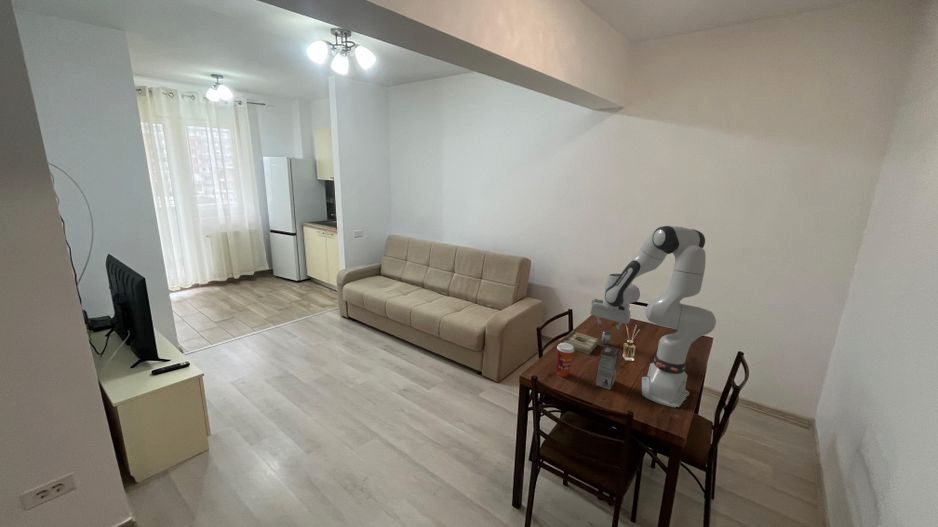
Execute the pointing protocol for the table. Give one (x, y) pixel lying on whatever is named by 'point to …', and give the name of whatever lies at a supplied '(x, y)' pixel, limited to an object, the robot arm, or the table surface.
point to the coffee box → (607, 367)
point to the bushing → (605, 338)
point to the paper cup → (564, 359)
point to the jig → (581, 342)
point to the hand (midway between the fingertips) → (608, 326)
